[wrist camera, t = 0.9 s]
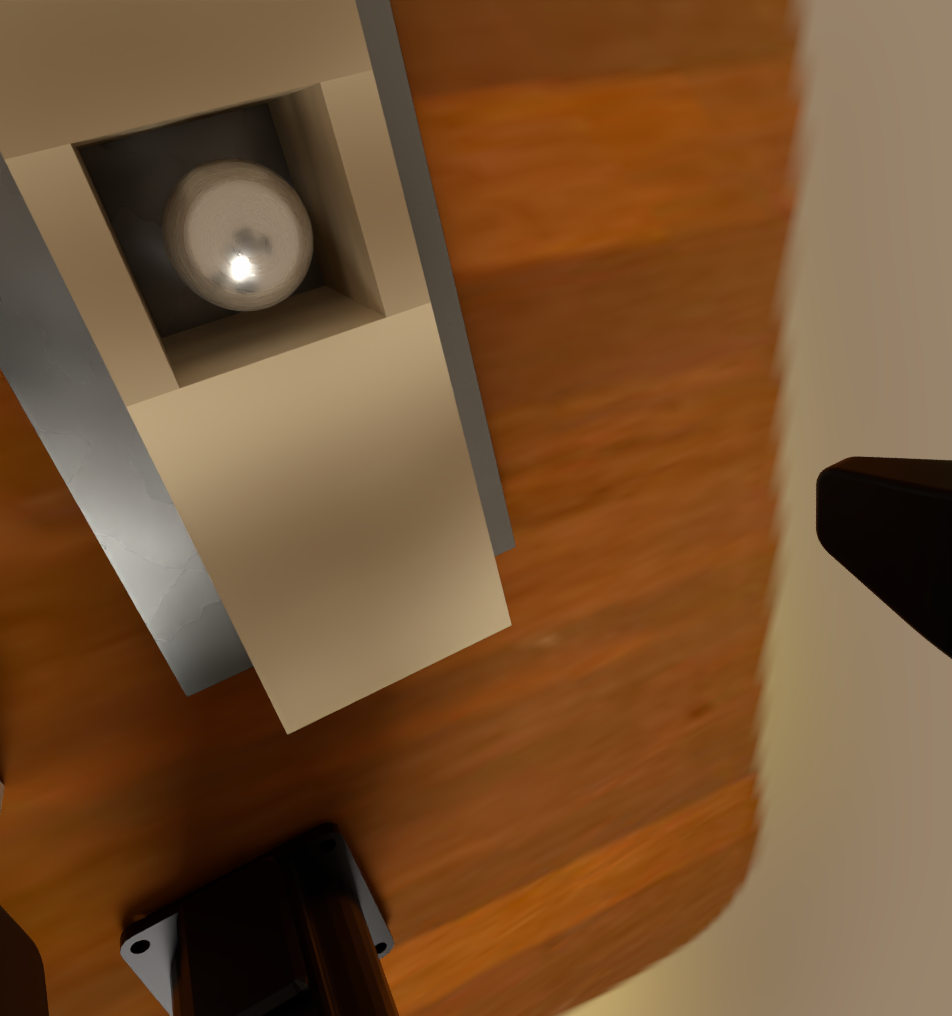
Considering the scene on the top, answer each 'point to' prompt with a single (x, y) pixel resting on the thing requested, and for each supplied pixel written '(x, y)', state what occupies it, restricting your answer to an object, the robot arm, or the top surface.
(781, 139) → the top surface
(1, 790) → the tray
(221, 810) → the top surface
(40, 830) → the top surface
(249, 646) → the beige rectangular block
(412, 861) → the top surface
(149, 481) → the stud base
